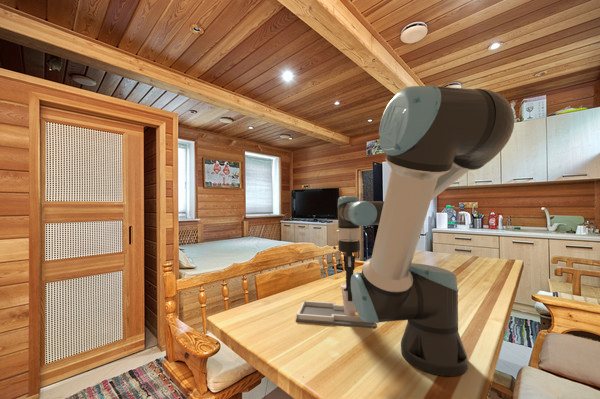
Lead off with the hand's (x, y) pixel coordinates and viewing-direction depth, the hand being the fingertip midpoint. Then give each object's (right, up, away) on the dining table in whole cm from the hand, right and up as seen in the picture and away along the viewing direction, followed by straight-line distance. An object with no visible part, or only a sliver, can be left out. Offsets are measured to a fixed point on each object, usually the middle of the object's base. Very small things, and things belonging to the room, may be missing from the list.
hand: (349, 305), depth 88 cm
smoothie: (0, -3, 0) cm, 3 cm away
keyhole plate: (-5, -4, +1) cm, 7 cm away
